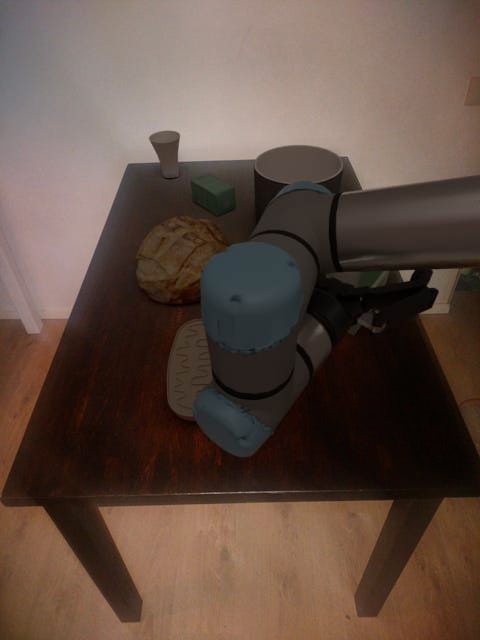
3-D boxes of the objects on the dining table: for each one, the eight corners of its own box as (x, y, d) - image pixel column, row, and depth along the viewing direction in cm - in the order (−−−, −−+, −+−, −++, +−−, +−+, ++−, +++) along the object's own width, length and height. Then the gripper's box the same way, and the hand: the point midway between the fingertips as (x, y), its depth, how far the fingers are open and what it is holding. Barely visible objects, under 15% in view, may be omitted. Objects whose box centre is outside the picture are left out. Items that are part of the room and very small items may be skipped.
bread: (217, 239, 111) (210, 189, 101) (251, 291, 92) (246, 236, 82) (133, 260, 106) (117, 210, 96) (149, 321, 87) (131, 266, 77)
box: (218, 217, 117) (216, 194, 111) (192, 201, 124) (189, 179, 119) (236, 208, 120) (235, 186, 114) (210, 194, 127) (208, 172, 122)
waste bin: (381, 297, 89) (391, 267, 83) (353, 335, 82) (361, 305, 75) (326, 274, 96) (330, 245, 89) (295, 308, 88) (297, 278, 82)
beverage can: (337, 286, 91) (345, 245, 82) (359, 300, 88) (370, 258, 79) (319, 299, 88) (325, 257, 80) (341, 313, 85) (350, 271, 76)
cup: (186, 180, 135) (180, 141, 125) (156, 183, 134) (148, 144, 124) (185, 167, 142) (179, 129, 132) (157, 170, 141) (149, 132, 131)
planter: (246, 219, 115) (243, 152, 101) (314, 206, 119) (321, 139, 104) (269, 262, 100) (270, 191, 86) (346, 246, 104) (360, 175, 89)
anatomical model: (220, 429, 68) (217, 415, 64) (164, 431, 68) (159, 416, 65) (223, 333, 84) (221, 317, 80) (178, 335, 84) (174, 319, 80)
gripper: (221, 311, 51) (303, 236, 63) (404, 406, 40) (463, 294, 52) (216, 267, 46) (306, 193, 57) (425, 363, 35) (486, 248, 46)
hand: (381, 241), depth 54 cm, fingers open, 13 cm apart
